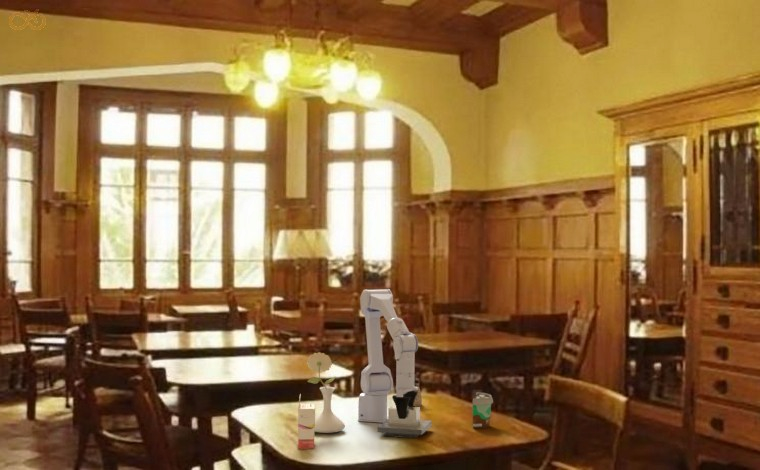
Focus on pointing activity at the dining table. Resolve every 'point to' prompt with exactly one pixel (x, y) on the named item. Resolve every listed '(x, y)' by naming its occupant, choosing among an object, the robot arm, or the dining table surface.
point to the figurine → (418, 397)
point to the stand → (404, 429)
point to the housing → (411, 417)
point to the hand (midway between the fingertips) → (405, 416)
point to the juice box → (306, 426)
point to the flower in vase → (324, 395)
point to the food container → (481, 410)
